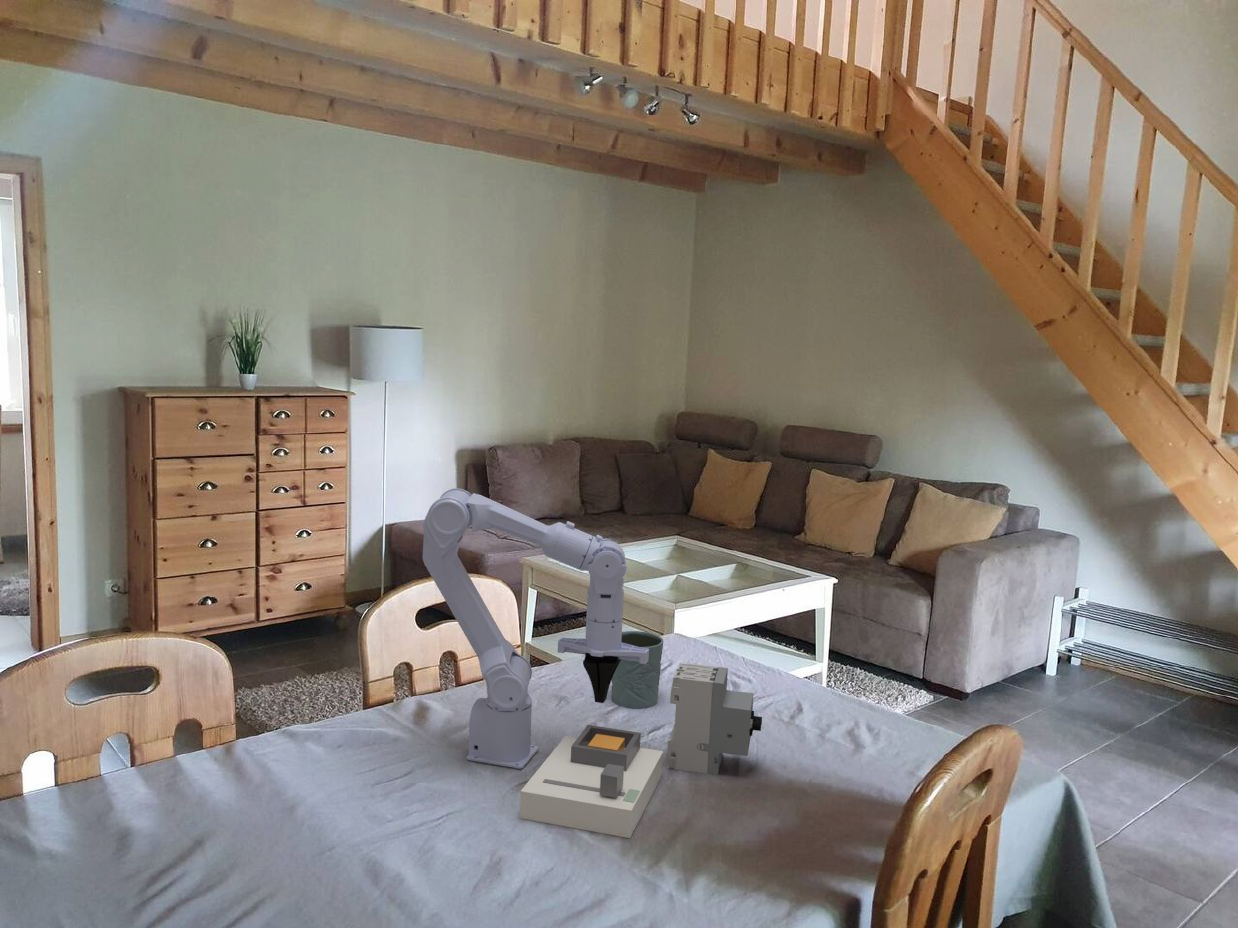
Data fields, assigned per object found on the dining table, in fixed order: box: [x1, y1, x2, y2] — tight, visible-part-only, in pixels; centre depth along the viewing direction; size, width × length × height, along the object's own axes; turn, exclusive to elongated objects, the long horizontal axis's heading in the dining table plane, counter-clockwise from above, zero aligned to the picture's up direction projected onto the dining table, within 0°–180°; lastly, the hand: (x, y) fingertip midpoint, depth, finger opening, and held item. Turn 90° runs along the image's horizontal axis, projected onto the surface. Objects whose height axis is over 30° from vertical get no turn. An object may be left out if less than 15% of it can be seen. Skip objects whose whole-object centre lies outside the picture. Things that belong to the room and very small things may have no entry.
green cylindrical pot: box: [611, 630, 664, 710], centre depth 179 cm, size 10×10×12 cm
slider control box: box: [519, 724, 664, 839], centre depth 141 cm, size 16×20×6 cm
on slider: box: [600, 764, 624, 798], centre depth 134 cm, size 2×4×3 cm, turn 165°
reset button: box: [588, 734, 625, 752], centre depth 146 cm, size 5×5×2 cm
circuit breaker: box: [666, 662, 763, 776], centre depth 153 cm, size 8×14×15 cm, turn 78°
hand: (600, 700), depth 152 cm, fingers closed
